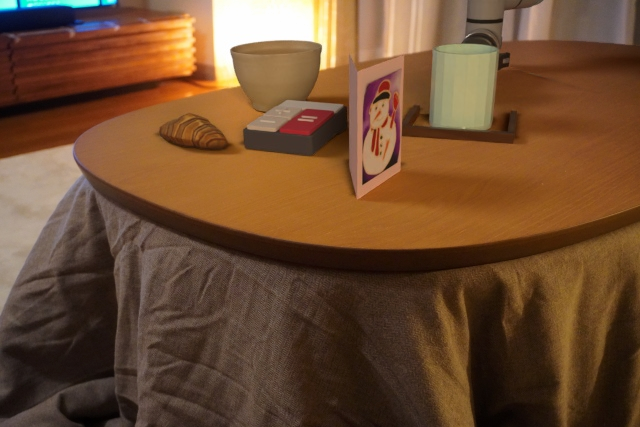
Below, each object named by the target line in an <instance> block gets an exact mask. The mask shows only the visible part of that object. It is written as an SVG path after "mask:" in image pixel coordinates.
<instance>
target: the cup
mask: <svg viewBox="0 0 640 427" xmlns="http://www.w3.org/2000/svg"><path fill="white" fill-rule="evenodd" d="M499 53H500V51H499V49H498V48H497V47H494V46H489V45H482V44H461V43H446V44H439V45H436V46H433V47H432V53H431V71H430V92H429V94H430V95H429V111H428V112H429V114H428V117H429V118H428V124H429V127H443V128H458V129H474V130H490V129H491V128H492V127H493V121H494V113H495V112H494V111H495V102H496V91H497V81H498V72H499V71H498V60H499Z"/></svg>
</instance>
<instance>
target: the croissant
mask: <svg viewBox="0 0 640 427" xmlns="http://www.w3.org/2000/svg"><path fill="white" fill-rule="evenodd" d="M158 129H159V130H158V132H159V135H160V137H161V138H162V139H164V140H165V141H167V142H169V143H172V144H174V145H176V146H179V147H185V148H193V149H199V150H206V151H207V150H209V151H220V150H225V149H227V148H228V139H227V137H226V135H225V134H224V133H223V131H221V130H220V129H219V128H218V127H217V126H216V125H214V124H212V122H211V121H210V120H209V119H208V118H206V117H204V116H202V115H198V114H195V113H191V112H187V113H185V114H183V115H180V116H179V117H178V118H175V119H171V120H170V121H169V120H168V121H167V122H165V123H164V124H162V125H161V126H160V127H159V128H158Z"/></svg>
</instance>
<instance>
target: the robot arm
mask: <svg viewBox="0 0 640 427" xmlns="http://www.w3.org/2000/svg"><path fill="white" fill-rule="evenodd" d="M543 2H544V0H467V4H466V22H465V31H464V39H463V40H462V41H461V43H460V44H482V45H489V46H494V47H497V48H498V49H499V60H498V71H497V72H499V71H500V70H502V69H504V68H505V69H506V68H509V67H510V60H511V52H509V51H505V52H500V51H501V49H502V45H503V27H504V17H505V11H511V10H518V9H519V10H520V9H529V8H532V7H534V6H538V5H539V4H541V3H543Z"/></svg>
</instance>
